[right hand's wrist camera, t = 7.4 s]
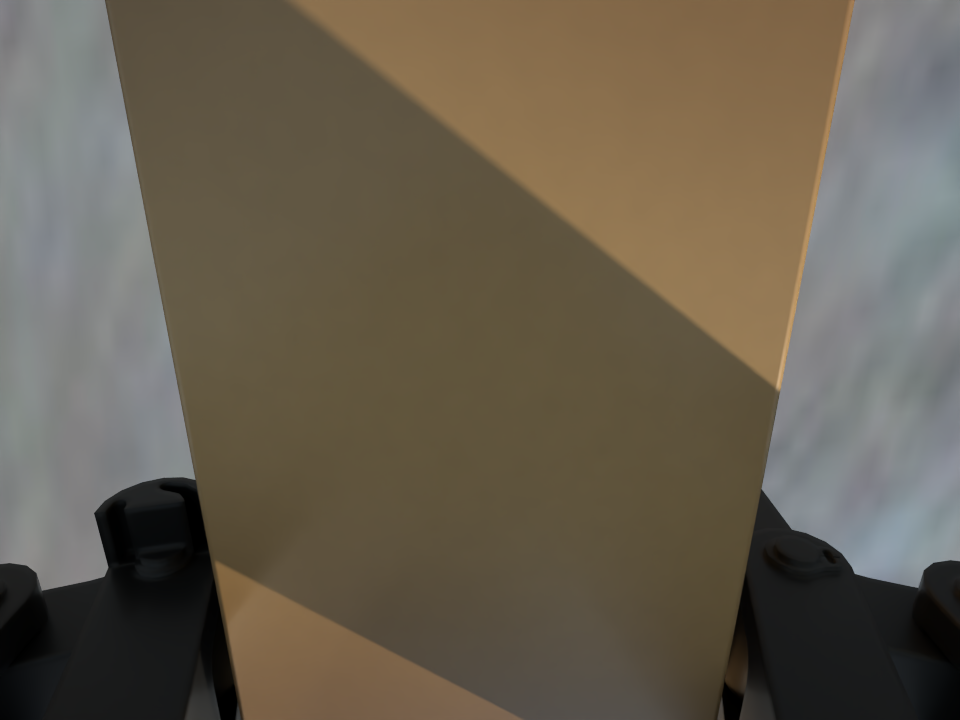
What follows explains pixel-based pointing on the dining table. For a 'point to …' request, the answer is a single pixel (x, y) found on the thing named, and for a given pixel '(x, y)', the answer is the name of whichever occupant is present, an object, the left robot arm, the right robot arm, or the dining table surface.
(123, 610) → the right robot arm
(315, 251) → the bar
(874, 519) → the dining table surface
